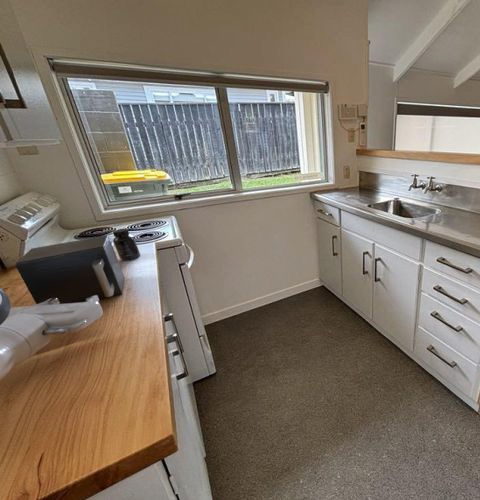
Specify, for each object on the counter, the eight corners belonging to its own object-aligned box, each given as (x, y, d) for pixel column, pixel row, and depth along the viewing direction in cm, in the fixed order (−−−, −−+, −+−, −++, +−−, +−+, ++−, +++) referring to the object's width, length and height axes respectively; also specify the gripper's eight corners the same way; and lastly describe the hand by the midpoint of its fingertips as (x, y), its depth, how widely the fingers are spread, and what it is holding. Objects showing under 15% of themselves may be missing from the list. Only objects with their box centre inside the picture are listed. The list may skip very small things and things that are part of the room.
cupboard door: (121, 302, 83) (101, 254, 77) (36, 326, 74) (5, 273, 68) (122, 293, 88) (103, 247, 82) (43, 314, 79) (15, 263, 73)
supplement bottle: (123, 256, 117) (112, 229, 113) (142, 253, 120) (133, 226, 115) (118, 262, 111) (106, 234, 107) (138, 259, 114) (128, 231, 109)
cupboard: (122, 293, 88) (103, 246, 82) (43, 314, 79) (15, 263, 73) (124, 278, 98) (108, 235, 92) (55, 295, 89) (31, 248, 83)
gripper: (67, 319, 57) (114, 285, 70) (-41, 326, 56) (27, 291, 69) (79, 343, 60) (123, 306, 72) (-24, 351, 59) (39, 312, 71)
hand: (75, 299), depth 71 cm, fingers open, 8 cm apart
